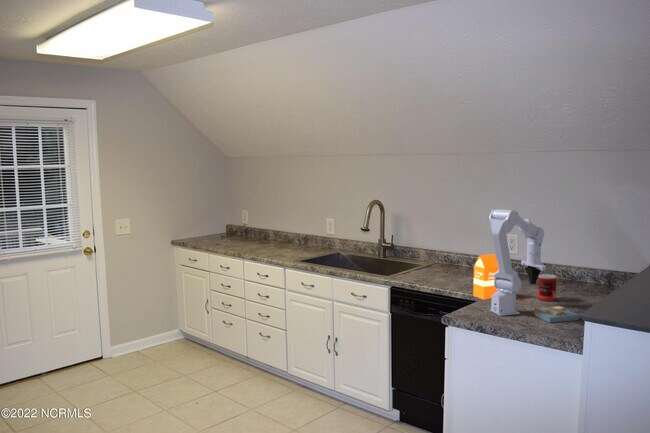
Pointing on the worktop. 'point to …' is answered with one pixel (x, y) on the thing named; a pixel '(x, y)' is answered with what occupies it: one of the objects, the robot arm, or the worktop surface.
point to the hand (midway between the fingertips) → (532, 283)
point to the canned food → (547, 287)
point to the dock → (552, 318)
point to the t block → (551, 310)
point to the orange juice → (485, 276)
